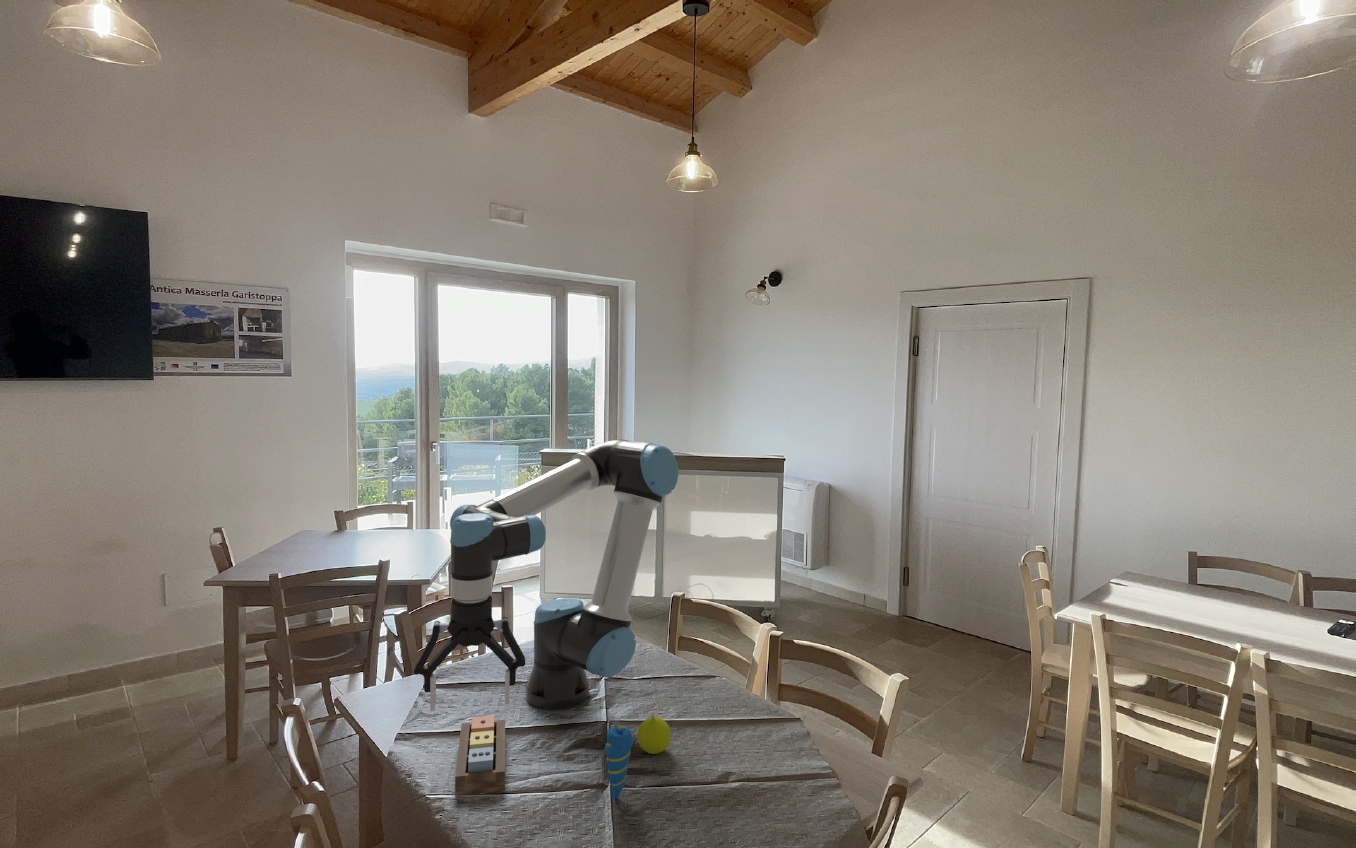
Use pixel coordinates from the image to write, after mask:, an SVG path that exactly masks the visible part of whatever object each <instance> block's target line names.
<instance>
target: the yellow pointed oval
mask: <svg viewBox="0 0 1356 848" xmlns="http://www.w3.org/2000/svg"><path fill="white" fill-rule="evenodd" d="M641 722H642V723H640V725H639V727H638V728H637V735H636V737H637V742H638V745H639V746H640V748H641V749H642V750H643V751H644V752H645V753H648V754H652V755H657V754H660V753H662V752H663V751H665V750H666V749H667V748H668V746H669V745H670V742H671V738H672V734H671V733H672V731H671V729H670V726H669V723H667V721H666V720H665V719H663V718H661V717H658V716H655V714H652V715H651V716H649V717H648V718H645V719H644V720H643V721H641Z"/></svg>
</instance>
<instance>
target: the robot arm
mask: <svg viewBox="0 0 1356 848" xmlns="http://www.w3.org/2000/svg"><path fill="white" fill-rule="evenodd" d="M678 479H679V464H678V461H677V460H676V457H675V454H674V453H673V451H672V450H671V449H670V448H668V447H667V446H664V445H660V444H656V443H652V442H642V441H637V440H636V441H634V440H626V439H619V438H618V439H612V440H607V441H604V442H600V443H599V444H595V445H592V446H591V447H588V448H585V449H584V450H581V451H579V452H577V453H576V454H574V455H572V457H571V459H570V461H568V462H566V463H564V464H562V465H560V466H558V467H556V468H554V469H551V470H549V471H548V472H546V473H544V474H541V475H539V476H537V477H535V478H533V479H531V480H529V481H527V482H525V483H522V484H521V485H518V486H516V487H515V488H512V489H510V490H508V491H506V492H504V493H502V494H500V495H498V496H496V497H494V498H491V499H490V500H487V501H486V502H483V503H481V504H479V505H475V504H463V505H460V506H459V507H457V508H456V509H455V510H454V511H453V512H452V515H451V517H450V519H449V526H450V538H449V539H450V540H449V541H450V597H452V598H451V599H450V621H449V622H448V623H441V621H439V620H435V621H434V623H433V626H432V631H431V635H430V636H429V639H428V640H427V643H426V645H425V647H424V648H423V650H422V651H421V653H420V656H419V657H418V660H417V661H416V664H415V665H414V670H413V673H414V675H422V677H423V690H424V692H425V693H430V695H429V696H430V697H429V698H430V700H429V701H430V702H429V703H430V707H429V708H430V709H429V710H430V712H434V711H435V710H436V704H437V668H439V666H440V665H441V664H442V663H443V662H444V661H445V659H447V657H448V656H449V655H450V654H451V652H453V650H455V648H456V647H457V646H458V645H460V646H462V648H463V647H469V646H474V647H476V646H477V647H478V646H480V645H481V644H484V646H486V647H487V648H488V649H489V650H491V651H492V652H493V654H494V655H495V656H496V657H497V658H498V659H499V660H500V661H501V662H502V663H503V664H504V665H505V668H504V669H505V670H504V671H505V675H504V678H505V679H504V683H505V687H504V705H510V686H515V685H516V682H517V681H516V678H517V677H516V676H517V673H516V671H517V669H518V668H520V667H521V668H522V667H525V665H526V657H525V655H524V653H523V651H522V649H521V647H520V645H519V643H518V642H517V640H516V638H515V636H514V634H513V632H512V631H511V628H510V624H509V618H508V616H504V617H502V618H501V619H499V620H496V619H495V620H494V619H493V597H492V594H493V567H494V562H498V561H502V560H507V559H510V558H514V557H519V556H525V555H526V556H527V555H529V554H531V553H535V552H536V551H540V550H541V549H542V548H543V546H544V545H545V543H546V537H547V536H546V534H547V532H546V526H545V523H544V522H543V521H542V519H541V517H539V516H537V515H538V514H540V513H542V512H543V511H545V510H548V509H550V508H551V507H554V506H555V505H558V504H559V503H561V502H562V501H565V500H567V499H569V498H570V497H572V496H574V495H576V494H578V493H580V492H582V491H584V490H586V491H593V490H595V489H597V488H598V487H599V488H600V487H603V486H614V490H613V494H614V496H615V497H616V499H617V504H616V507H615V511H614V515H613V518H612V522H611V525H610V530H609V533H608V538H607V540H606V544H605V545H606V546H605V549H604V553H603V556H602V561H601V563H600V568H599V572H598V576H597V579H596V583H595V587H594V590H593V594H592V598H591V601H590V602H588V603H587V604H585V605H584V602H583V601H582V600H580V599H577V598H559V599H552V600H548V601H546V602H543V603H540V604H539V605H538V606H537V607H536V608H535V612H534V620H533V666H532V669H531V672H530V674H529V675H530V676H529V678H528V680H527V684H526V686H525V697H526V700H527V702H528V703H529V704H530V705H532V706H534V707H537V708H540V709H544V710H554V711H555V710H556V711H557V710H564V709H570V708H574V707H576V706H579V705H580V704H582V703H584V702H585V701H586V700H587V698H588V697H589V695H590V683H589V680H588V676H587V674H586V672H588V673H590V675H591V674H592V675H597V676H599V677H603V678H612V677H615V676H617V675H618V674H620V673H621V672H622V671H623V670H624V669H625V668H627V666H628V665H629V664H630V662H631V661H632V659H633V656H634V654H635V651H636V647H637V639H636V635H635V633H634V631H633V630H632V629H631V623H632V620H633V619H632V616H631V615H630V612H629V610H628V609H629V605H630V601H631V597H632V592H633V589H634V586H635V582H636V577H637V574H638V570H639V566H640V562H641V558H642V553H643V549H644V546H645V542H646V538H647V534H648V530H649V527H650V522H651V519H652V514H653V511H654V510H655V509H656V508H657V507H659V506H661V504H662V503H663V502H662V501H663V497H666V496H667V495H670V494H671V493H672V492H673V491H674V489H675V488H676V487H677V483H678ZM495 628H496V629H497V630H498V631H499V632H500V633H502V634H503V637H504V640H505V641H506V643H507V644H508V645H507V646H508V647H509V649H510V650H511V653H512V654H513V656H514V658H513V657H512V655H511V654H510V653H508V651H507V650H506V649H505V648H504V647H503V646H502V645H501V644H500V643H499V642H498V641H497V640H496V639H495V637H494V636H493V634H492V631H494V629H495ZM447 631H448V633H449V634H450V635H451V637H450V638H449V639H448V640H447V642H446V643H445V645H444V646H442V648H441V649H439V651H438V653H436V655H435V656H434V657H433V658H432V659H431V661H429V662H428V664H426V663H427V661H428V659H429V657H430V656H431V653H432V651H433V650H434V647H435V646H436V644H437V642H438V640H439V636H443V635H444V633H445V632H447Z"/></svg>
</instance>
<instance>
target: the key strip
mask: <svg viewBox="0 0 1356 848" xmlns="http://www.w3.org/2000/svg"><path fill="white" fill-rule="evenodd" d="M471 726H472V722H463V723H461V726H460V733H459V734H460V735H459V742H458V750H457V752H458V753H457V760H456V765H455V766H456V767H455V775H454V786H455V787H454V790H455V791H454V796H455V797H458V796H465V795H467V796H469V795H474V794H475V795H477V794H485V793H492V792H494V793H495V792H501V791H506V719H498V720H496V719H494V751H493V770H491V771H482V772H473V773H468V759H469V749H470V737H471Z"/></svg>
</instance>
